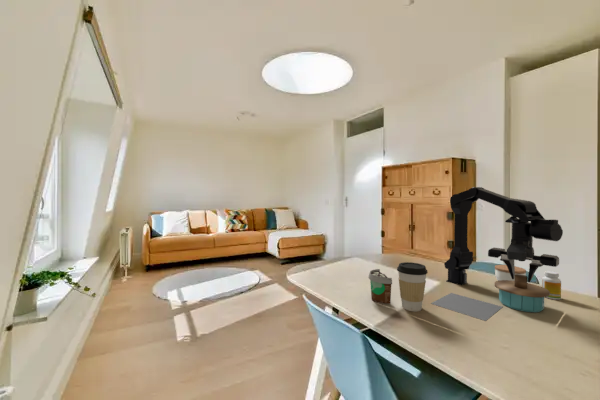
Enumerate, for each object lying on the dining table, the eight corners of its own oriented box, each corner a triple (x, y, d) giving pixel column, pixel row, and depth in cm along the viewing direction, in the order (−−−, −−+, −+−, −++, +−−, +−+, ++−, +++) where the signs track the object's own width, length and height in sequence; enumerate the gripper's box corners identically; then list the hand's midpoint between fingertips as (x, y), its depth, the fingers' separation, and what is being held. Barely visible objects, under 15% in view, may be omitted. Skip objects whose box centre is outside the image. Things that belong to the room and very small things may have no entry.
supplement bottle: (564, 300, 101) (565, 274, 100) (548, 299, 102) (548, 273, 101) (554, 295, 106) (554, 270, 106) (538, 294, 107) (538, 270, 107)
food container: (363, 294, 107) (364, 269, 107) (378, 293, 107) (379, 268, 107) (375, 307, 95) (375, 278, 94) (392, 306, 95) (392, 278, 95)
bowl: (494, 305, 96) (495, 288, 96) (505, 297, 104) (505, 281, 104) (539, 317, 87) (539, 298, 87) (546, 307, 94) (547, 290, 94)
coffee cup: (425, 304, 96) (426, 263, 96) (429, 316, 87) (429, 270, 87) (396, 301, 100) (396, 260, 99) (396, 312, 90) (397, 267, 90)
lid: (488, 288, 96) (488, 274, 96) (501, 279, 106) (501, 267, 106) (544, 301, 85) (544, 285, 85) (553, 290, 94) (553, 276, 94)
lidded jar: (514, 282, 122) (514, 261, 122) (532, 290, 111) (532, 267, 111) (489, 281, 123) (489, 260, 123) (504, 289, 112) (504, 267, 112)
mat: (430, 304, 97) (430, 303, 97) (451, 293, 107) (451, 292, 107) (485, 322, 83) (485, 320, 83) (502, 307, 94) (502, 306, 94)
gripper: (483, 235, 97) (482, 278, 97) (553, 242, 83) (552, 293, 83) (493, 232, 104) (492, 272, 104) (560, 239, 89) (558, 285, 90)
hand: (521, 280), depth 95 cm, fingers open, 4 cm apart
